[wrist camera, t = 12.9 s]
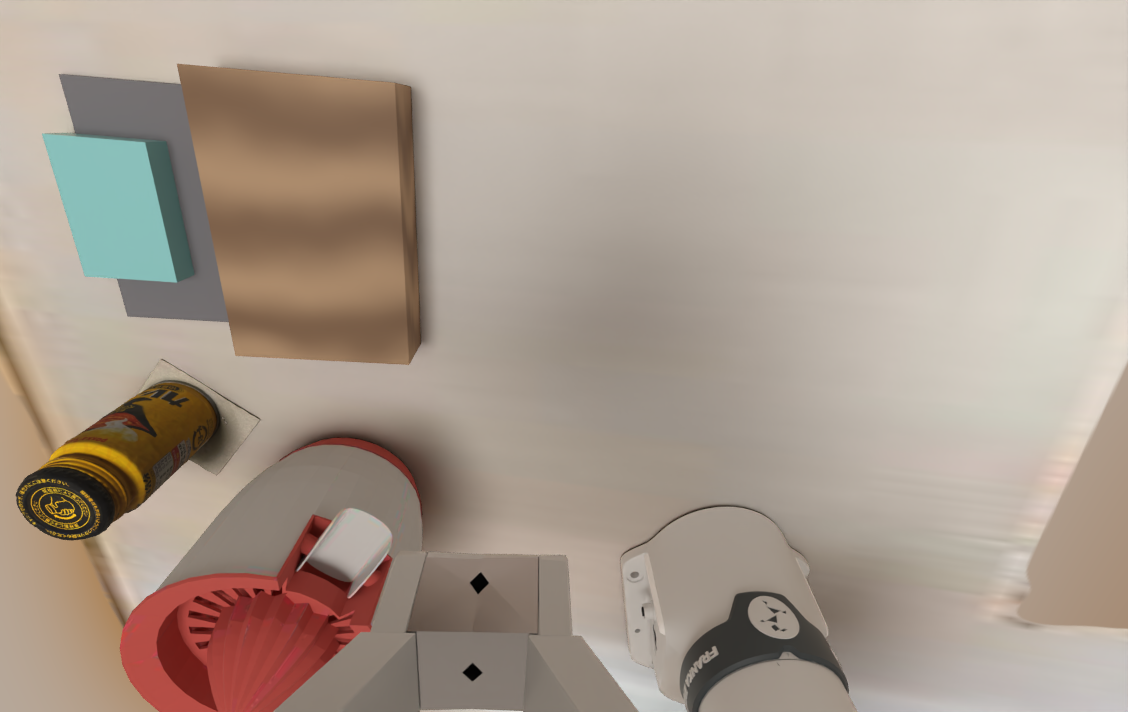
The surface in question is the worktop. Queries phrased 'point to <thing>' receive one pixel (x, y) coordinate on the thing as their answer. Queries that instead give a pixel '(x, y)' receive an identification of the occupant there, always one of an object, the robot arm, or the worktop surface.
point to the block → (121, 206)
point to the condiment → (132, 455)
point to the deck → (309, 211)
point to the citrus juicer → (275, 581)
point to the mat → (165, 119)
